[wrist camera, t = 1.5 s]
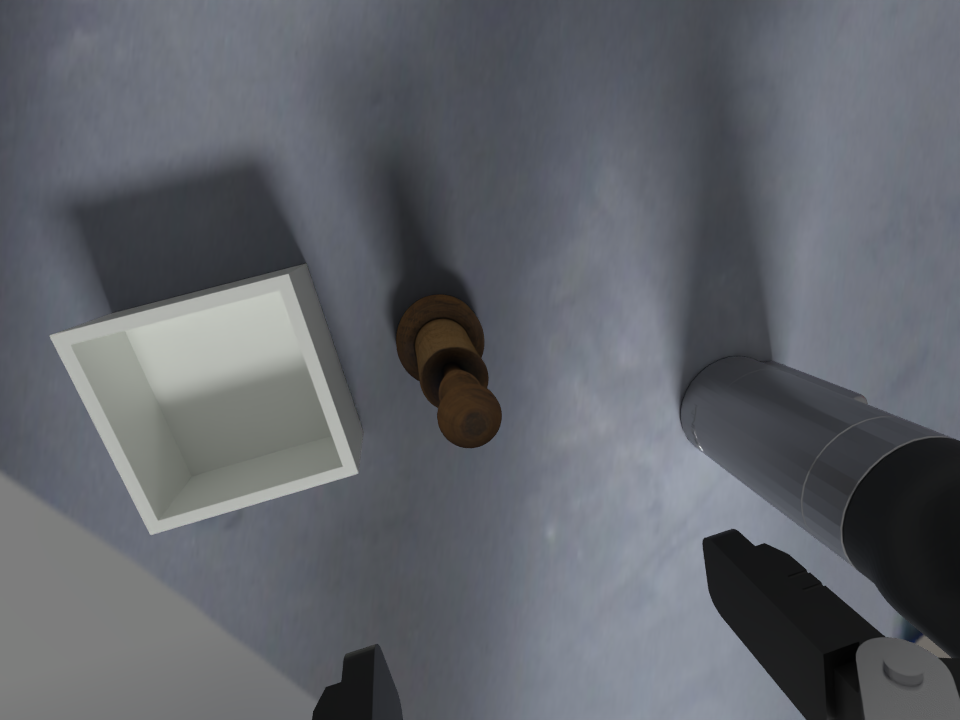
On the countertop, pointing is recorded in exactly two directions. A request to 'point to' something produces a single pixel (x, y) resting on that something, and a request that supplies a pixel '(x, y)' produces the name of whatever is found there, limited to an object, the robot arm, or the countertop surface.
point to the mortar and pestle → (450, 367)
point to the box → (217, 397)
